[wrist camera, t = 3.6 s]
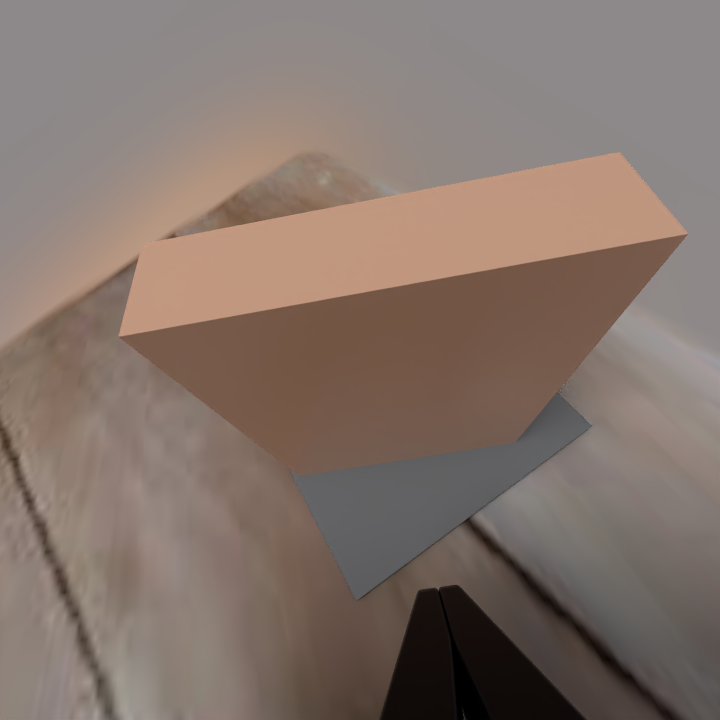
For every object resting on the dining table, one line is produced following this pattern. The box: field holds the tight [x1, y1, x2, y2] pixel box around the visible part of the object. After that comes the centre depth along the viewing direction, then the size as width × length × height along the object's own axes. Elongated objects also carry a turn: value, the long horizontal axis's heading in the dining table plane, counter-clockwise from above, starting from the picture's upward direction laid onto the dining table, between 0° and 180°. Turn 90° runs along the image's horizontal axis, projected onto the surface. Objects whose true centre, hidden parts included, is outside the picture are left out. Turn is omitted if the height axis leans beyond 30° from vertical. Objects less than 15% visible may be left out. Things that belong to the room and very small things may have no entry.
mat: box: [289, 393, 592, 601], centre depth 19 cm, size 15×13×1 cm
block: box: [119, 152, 688, 476], centre depth 12 cm, size 2×10×12 cm, turn 97°
